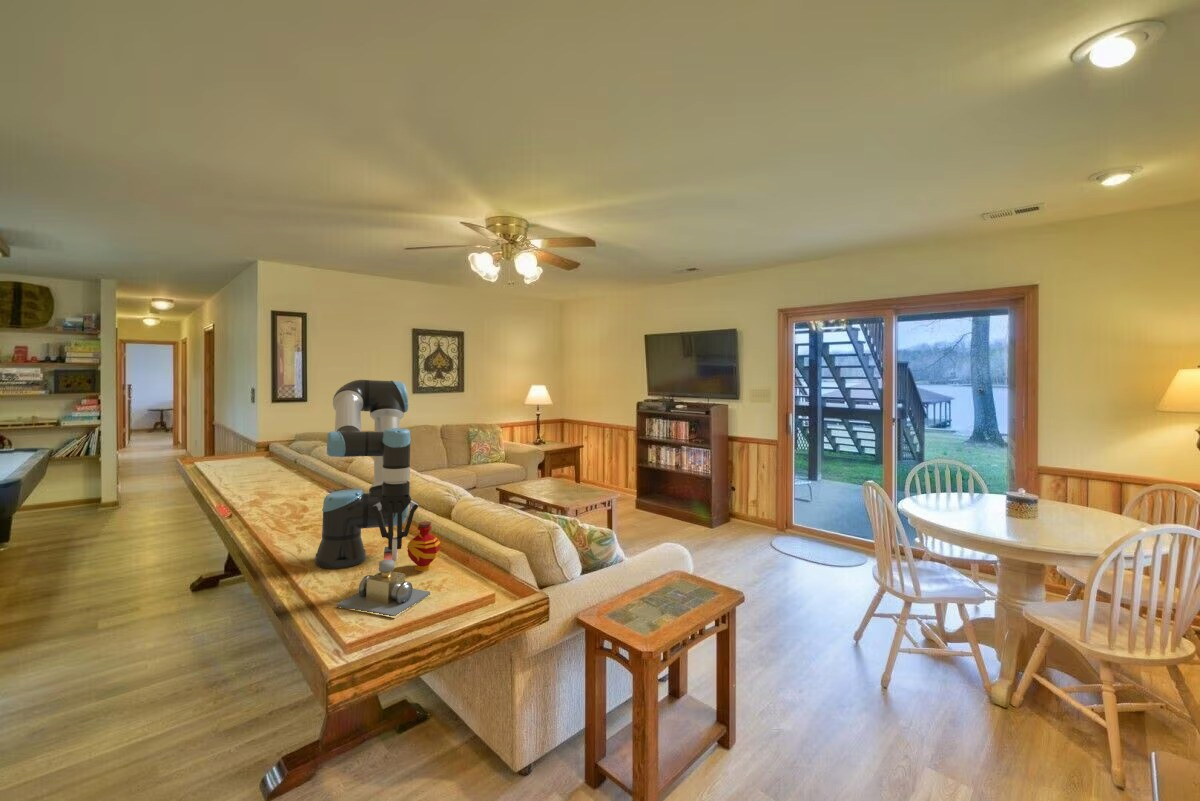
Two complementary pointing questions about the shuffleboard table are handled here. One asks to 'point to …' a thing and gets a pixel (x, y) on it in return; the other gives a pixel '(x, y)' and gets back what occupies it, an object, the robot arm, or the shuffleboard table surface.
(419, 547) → the potion bottle
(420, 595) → the slate board
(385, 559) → the lever
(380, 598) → the valve body
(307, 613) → the shuffleboard table surface
